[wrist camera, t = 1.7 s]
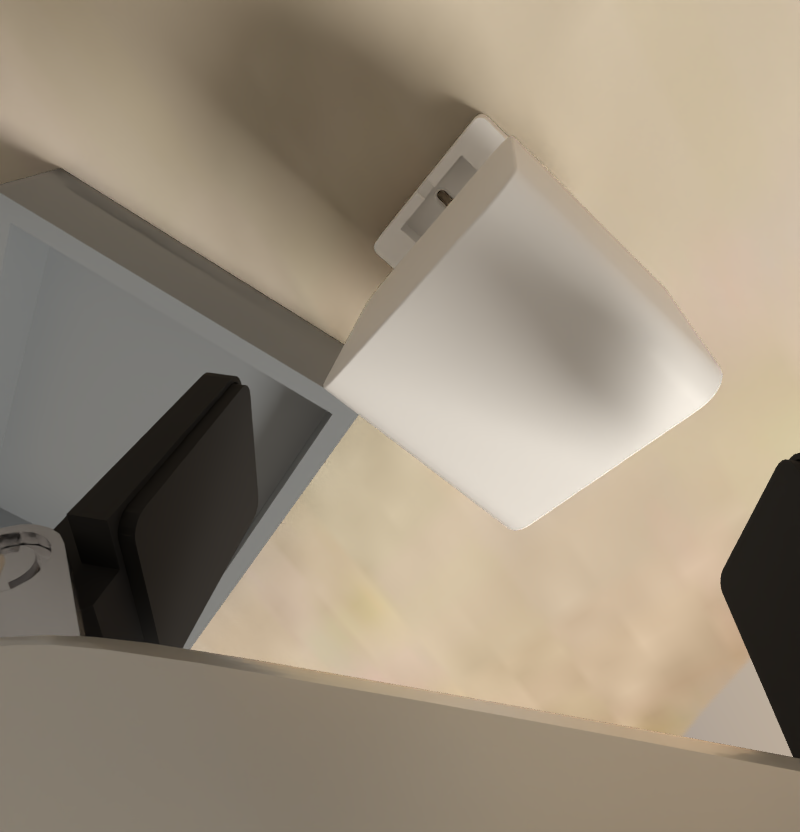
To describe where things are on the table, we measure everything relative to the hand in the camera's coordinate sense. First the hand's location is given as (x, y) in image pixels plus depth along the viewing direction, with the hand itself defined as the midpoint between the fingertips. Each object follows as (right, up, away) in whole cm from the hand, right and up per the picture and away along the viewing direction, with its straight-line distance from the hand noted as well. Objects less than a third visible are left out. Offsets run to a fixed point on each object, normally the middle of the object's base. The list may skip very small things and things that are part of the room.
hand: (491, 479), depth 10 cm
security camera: (+2, +7, +10) cm, 13 cm away
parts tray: (-14, 0, +17) cm, 22 cm away
